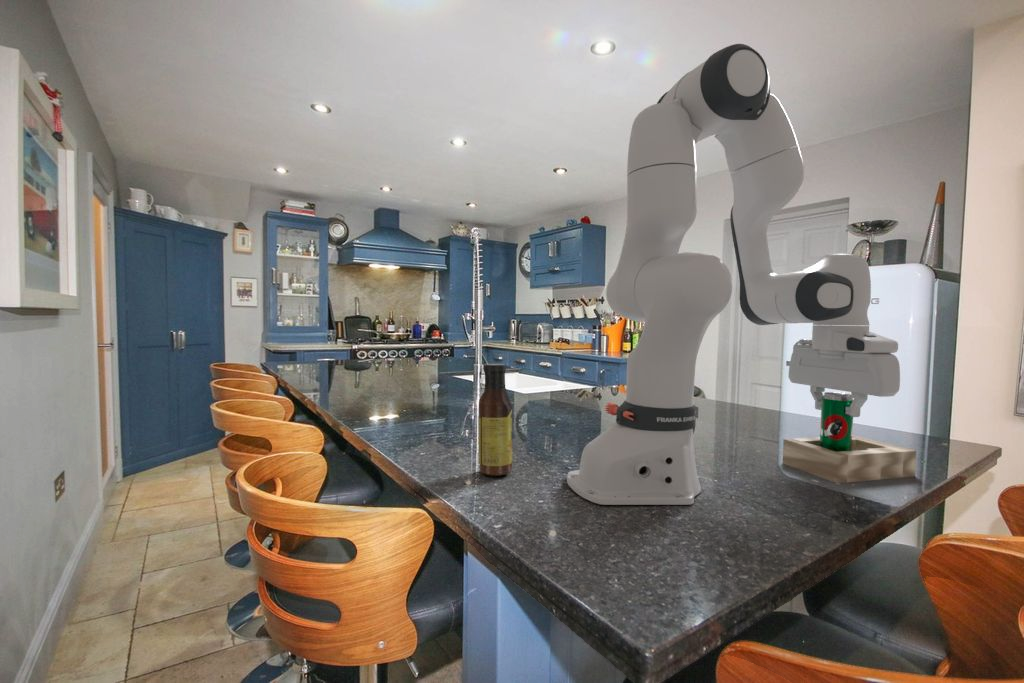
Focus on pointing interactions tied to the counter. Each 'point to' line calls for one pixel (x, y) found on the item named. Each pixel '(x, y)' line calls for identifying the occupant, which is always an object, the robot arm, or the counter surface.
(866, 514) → the counter surface
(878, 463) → the keyhole board
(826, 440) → the soda can
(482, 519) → the counter surface
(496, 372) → the sauce bottle
